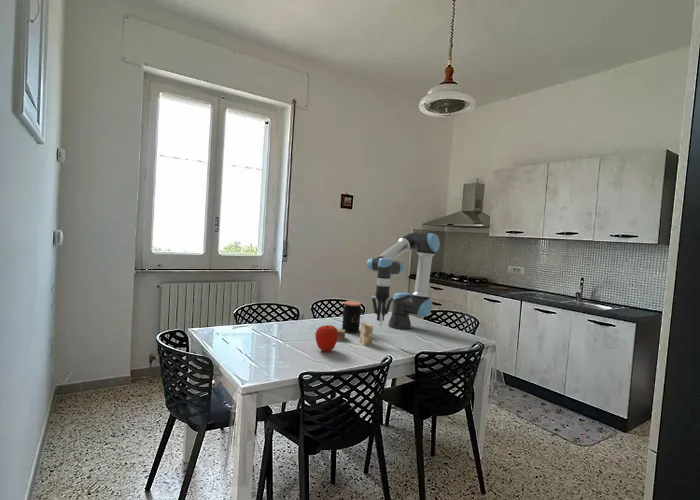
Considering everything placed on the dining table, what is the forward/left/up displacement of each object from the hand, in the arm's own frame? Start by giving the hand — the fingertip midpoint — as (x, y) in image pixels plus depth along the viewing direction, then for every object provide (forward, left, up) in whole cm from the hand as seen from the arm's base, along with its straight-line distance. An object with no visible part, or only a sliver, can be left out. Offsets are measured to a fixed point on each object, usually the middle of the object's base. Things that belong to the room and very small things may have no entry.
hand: (379, 326), depth 225 cm
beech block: (+8, 0, -10) cm, 13 cm away
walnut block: (+18, -9, -8) cm, 21 cm away
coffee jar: (+9, -25, -10) cm, 28 cm away
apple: (+34, +10, -10) cm, 37 cm away
